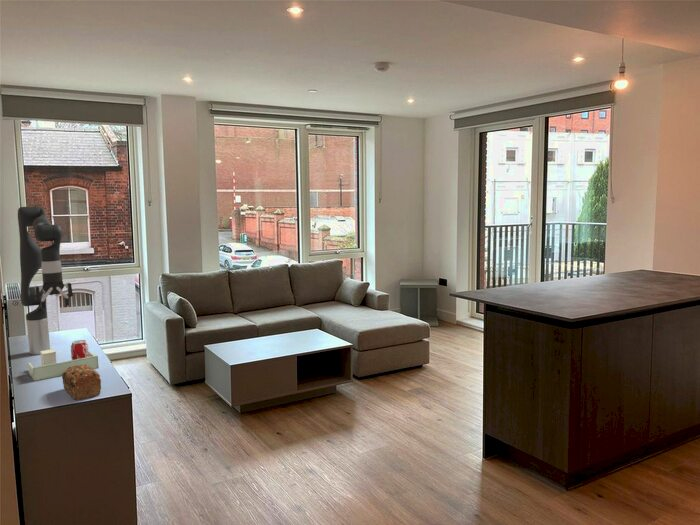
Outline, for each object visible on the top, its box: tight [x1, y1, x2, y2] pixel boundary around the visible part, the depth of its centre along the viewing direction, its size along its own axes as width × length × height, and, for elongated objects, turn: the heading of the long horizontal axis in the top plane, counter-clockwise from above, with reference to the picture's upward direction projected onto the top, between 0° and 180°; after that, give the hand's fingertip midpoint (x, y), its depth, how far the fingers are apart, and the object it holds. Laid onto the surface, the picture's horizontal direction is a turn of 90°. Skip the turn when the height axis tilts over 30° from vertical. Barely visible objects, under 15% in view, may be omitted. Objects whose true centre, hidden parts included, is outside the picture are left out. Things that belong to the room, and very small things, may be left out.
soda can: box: [70, 339, 89, 360], centre depth 250 cm, size 7×7×12 cm
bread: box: [61, 365, 102, 401], centre depth 218 cm, size 19×11×10 cm, turn 38°
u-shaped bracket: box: [27, 350, 100, 382], centre depth 246 cm, size 13×26×6 cm, turn 129°
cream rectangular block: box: [40, 348, 57, 366], centre depth 251 cm, size 6×5×8 cm
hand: (55, 308), depth 240 cm, fingers open, 8 cm apart
